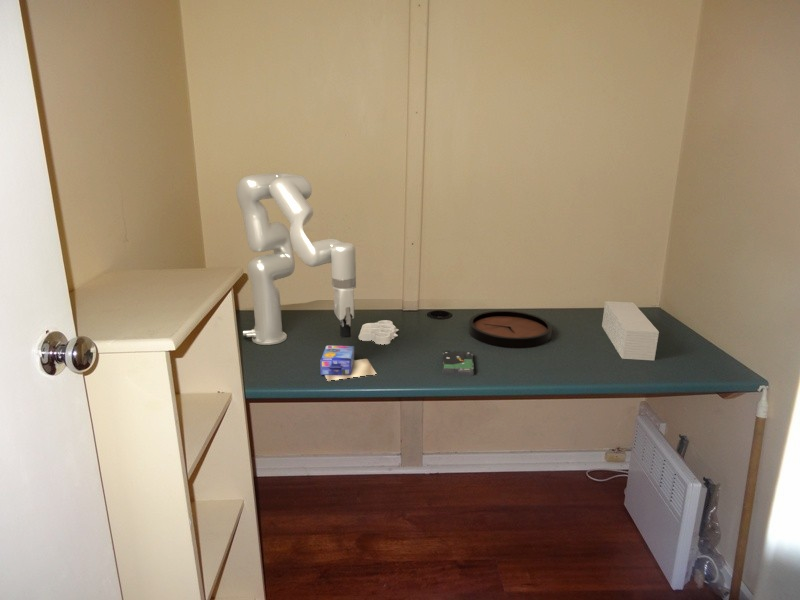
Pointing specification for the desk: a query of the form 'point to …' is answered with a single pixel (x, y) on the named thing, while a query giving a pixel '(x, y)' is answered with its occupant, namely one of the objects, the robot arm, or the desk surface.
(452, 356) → the disk drive
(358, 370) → the board
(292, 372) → the desk surface
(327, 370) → the ink cartridge box
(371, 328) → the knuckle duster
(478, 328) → the wall clock
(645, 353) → the stack of papers
